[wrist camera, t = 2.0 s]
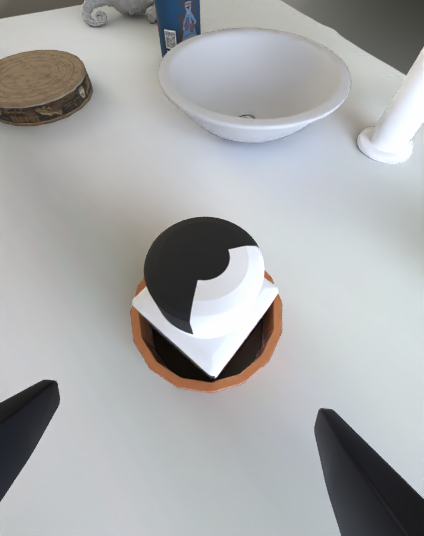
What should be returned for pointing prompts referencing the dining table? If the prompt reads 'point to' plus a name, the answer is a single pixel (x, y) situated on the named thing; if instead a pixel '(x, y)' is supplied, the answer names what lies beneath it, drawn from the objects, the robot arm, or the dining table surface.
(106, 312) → the dining table surface
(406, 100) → the candle
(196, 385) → the terracotta pot
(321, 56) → the soup bowl
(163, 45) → the soda can
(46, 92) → the brown round flat disc
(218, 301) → the medicine bottle
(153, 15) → the seahorse
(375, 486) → the robot arm
